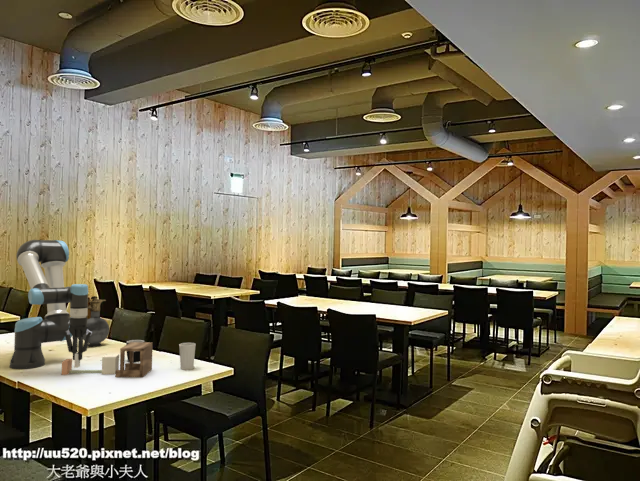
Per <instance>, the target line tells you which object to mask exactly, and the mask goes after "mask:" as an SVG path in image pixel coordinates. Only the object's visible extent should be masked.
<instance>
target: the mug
mask: <svg viewBox="0 0 640 481" xmlns="http://www.w3.org/2000/svg"><path fill="white" fill-rule="evenodd" d="M130 342H145V340H142V339H131V340H126V344H125V345H127V344H129V343H130ZM129 355H130V351H126V357H127V361H128V362H129ZM133 363H140V351H134V358H133Z"/></svg>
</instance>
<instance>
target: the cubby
mask: <svg viewBox="0 0 640 481" xmlns="http://www.w3.org/2000/svg"><path fill="white" fill-rule="evenodd" d="M127 351H130V355H129V361H128V362H125V361H126V360H125V359H126V357H125V355H126V354H125V353H126V352H127ZM134 351H140V361H139V362H133V358H134ZM152 369H153V342H150V341H149V342H147V341H144V342H130V343H129V344H127V345H126V344H125V345H124V346H122V347H121V348H120V352H119V370H116V371H115V374H114V375H115V378H144V377H145V376H146V375H147V374H149V373H150V372H151V371H152Z"/></svg>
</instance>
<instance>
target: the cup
mask: <svg viewBox="0 0 640 481" xmlns="http://www.w3.org/2000/svg"><path fill="white" fill-rule="evenodd" d="M196 345H197V344H196V343H195V342H182V343H179V344H178V346H179V359H180V360H179V361H180V362H179V363H180V368H179V369H180V370H183V371H190V370H193V369H194V367H195V366H194V364H195V354H196Z"/></svg>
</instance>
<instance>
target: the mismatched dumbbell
mask: <svg viewBox="0 0 640 481" xmlns="http://www.w3.org/2000/svg"><path fill="white" fill-rule="evenodd" d="M101 358H102V359H101V369H73V358H66V359H64V360H63V361H61V376H63V375H64V376H65V375H67V376H68V375H69V374H101V375H115V371H116V370H120V353H119V354H118V353H116V354H115V353H113V354H105V355H103V356H102V357H101Z"/></svg>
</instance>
